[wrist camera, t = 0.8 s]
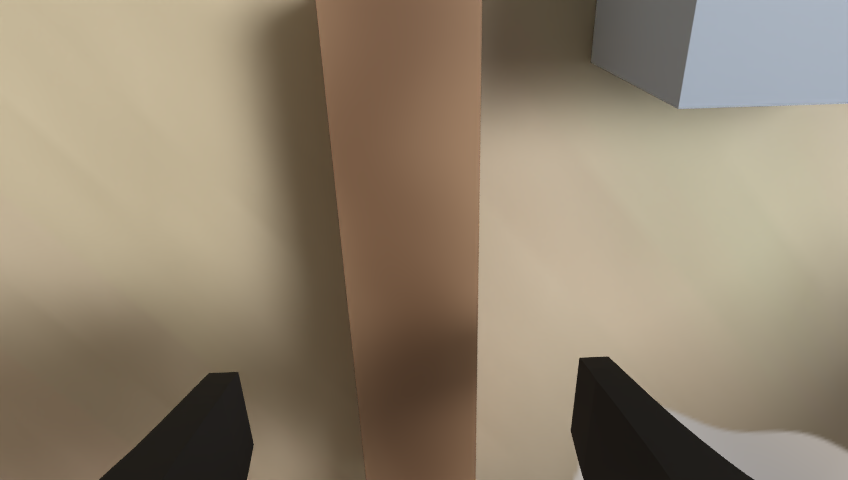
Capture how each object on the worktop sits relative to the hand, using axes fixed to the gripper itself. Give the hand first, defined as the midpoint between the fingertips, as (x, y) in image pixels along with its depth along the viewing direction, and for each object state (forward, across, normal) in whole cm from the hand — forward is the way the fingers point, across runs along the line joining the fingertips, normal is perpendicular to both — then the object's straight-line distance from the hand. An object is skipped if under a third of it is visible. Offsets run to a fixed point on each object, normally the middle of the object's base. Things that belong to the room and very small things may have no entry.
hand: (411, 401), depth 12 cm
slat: (+6, 0, 0) cm, 6 cm away
